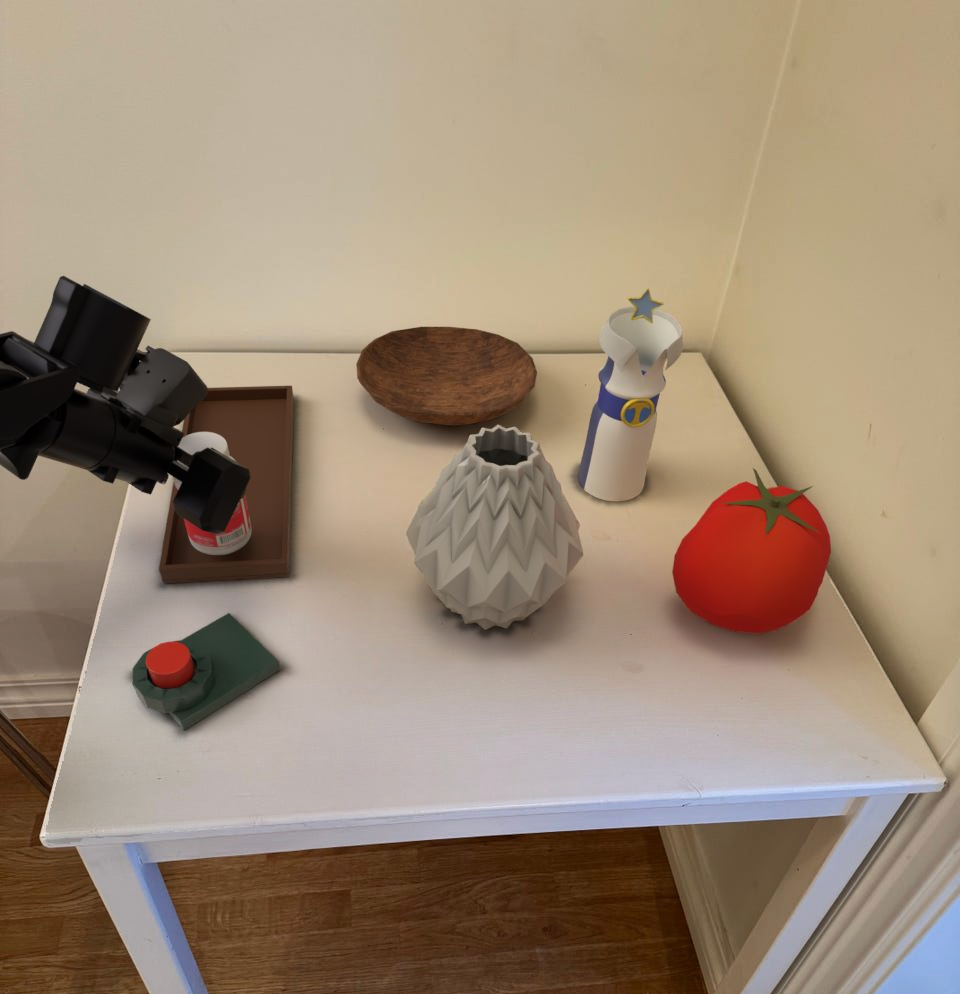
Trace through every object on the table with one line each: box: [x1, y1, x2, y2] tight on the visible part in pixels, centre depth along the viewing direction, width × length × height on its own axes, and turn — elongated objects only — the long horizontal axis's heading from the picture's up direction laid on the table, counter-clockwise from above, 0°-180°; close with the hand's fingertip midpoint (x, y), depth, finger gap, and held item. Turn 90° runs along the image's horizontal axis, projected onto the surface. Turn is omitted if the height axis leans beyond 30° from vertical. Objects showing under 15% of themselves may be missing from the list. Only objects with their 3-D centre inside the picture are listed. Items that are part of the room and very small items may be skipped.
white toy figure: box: [577, 287, 684, 502], centre depth 89 cm, size 8×9×25 cm
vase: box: [405, 424, 584, 631], centre depth 78 cm, size 16×16×18 cm
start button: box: [146, 641, 195, 689], centre depth 73 cm, size 4×4×2 cm
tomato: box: [671, 467, 832, 635], centre depth 81 cm, size 16×14×14 cm
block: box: [132, 612, 281, 731], centre depth 76 cm, size 11×8×3 cm
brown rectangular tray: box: [158, 385, 295, 585], centre depth 94 cm, size 31×12×2 cm, turn 7°
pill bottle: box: [172, 432, 252, 555], centre depth 82 cm, size 6×6×11 cm
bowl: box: [355, 326, 538, 426], centre depth 106 cm, size 20×22×5 cm
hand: (221, 478), depth 82 cm, fingers closed on pill bottle, 6 cm apart
